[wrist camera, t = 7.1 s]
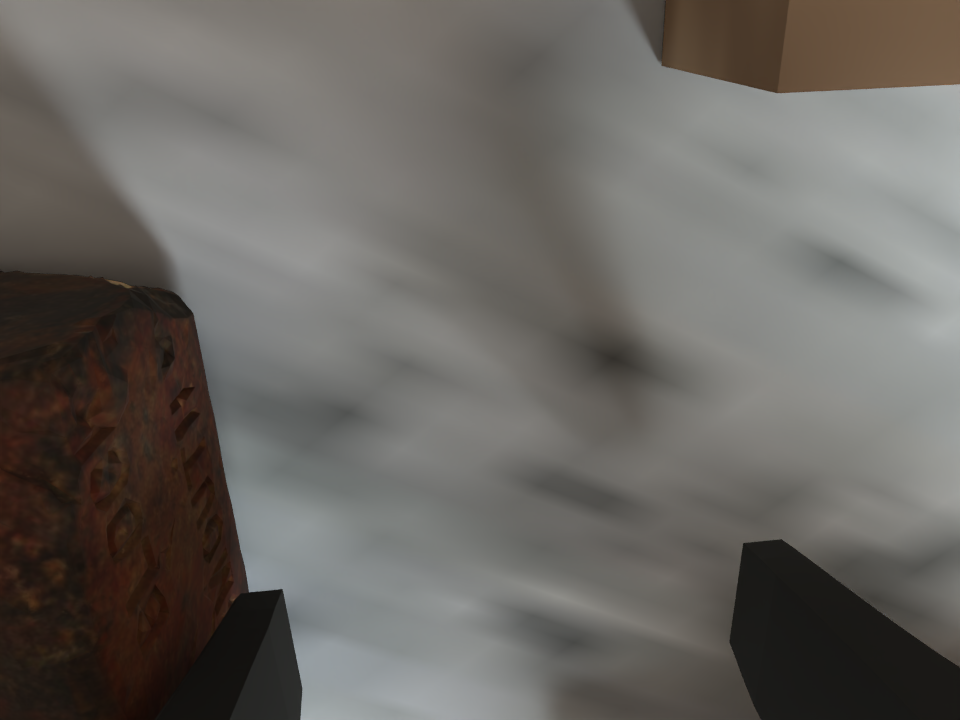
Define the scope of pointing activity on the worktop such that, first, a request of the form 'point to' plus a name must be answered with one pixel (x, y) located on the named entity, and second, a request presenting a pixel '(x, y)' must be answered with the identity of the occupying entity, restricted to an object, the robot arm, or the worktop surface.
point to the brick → (106, 500)
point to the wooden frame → (815, 42)
